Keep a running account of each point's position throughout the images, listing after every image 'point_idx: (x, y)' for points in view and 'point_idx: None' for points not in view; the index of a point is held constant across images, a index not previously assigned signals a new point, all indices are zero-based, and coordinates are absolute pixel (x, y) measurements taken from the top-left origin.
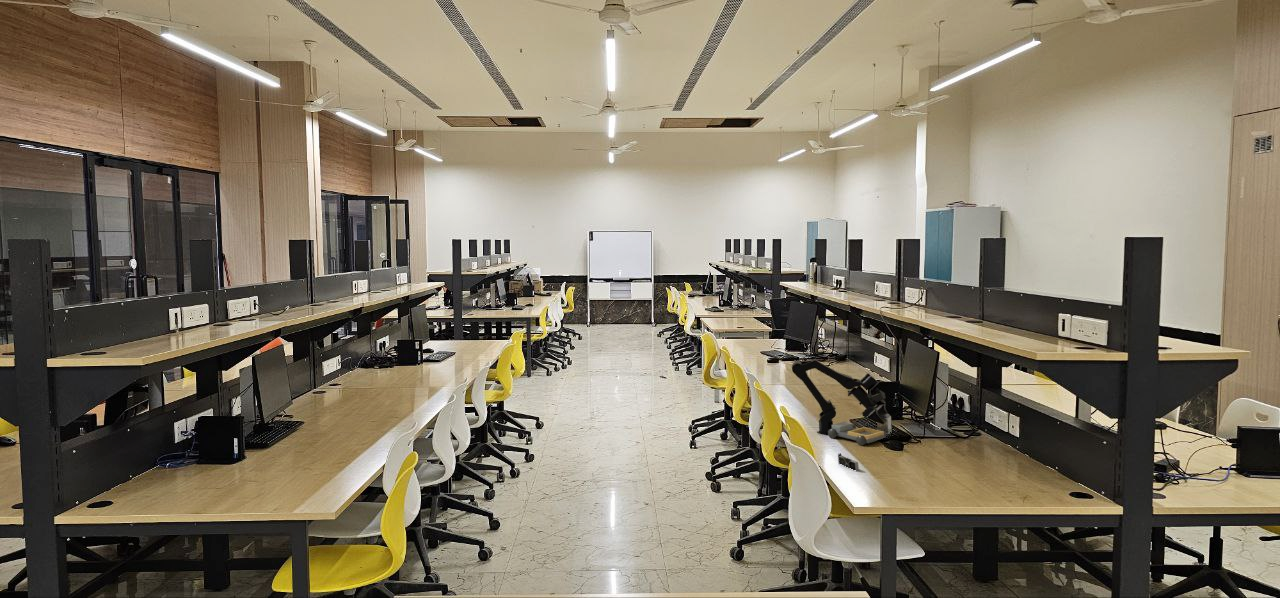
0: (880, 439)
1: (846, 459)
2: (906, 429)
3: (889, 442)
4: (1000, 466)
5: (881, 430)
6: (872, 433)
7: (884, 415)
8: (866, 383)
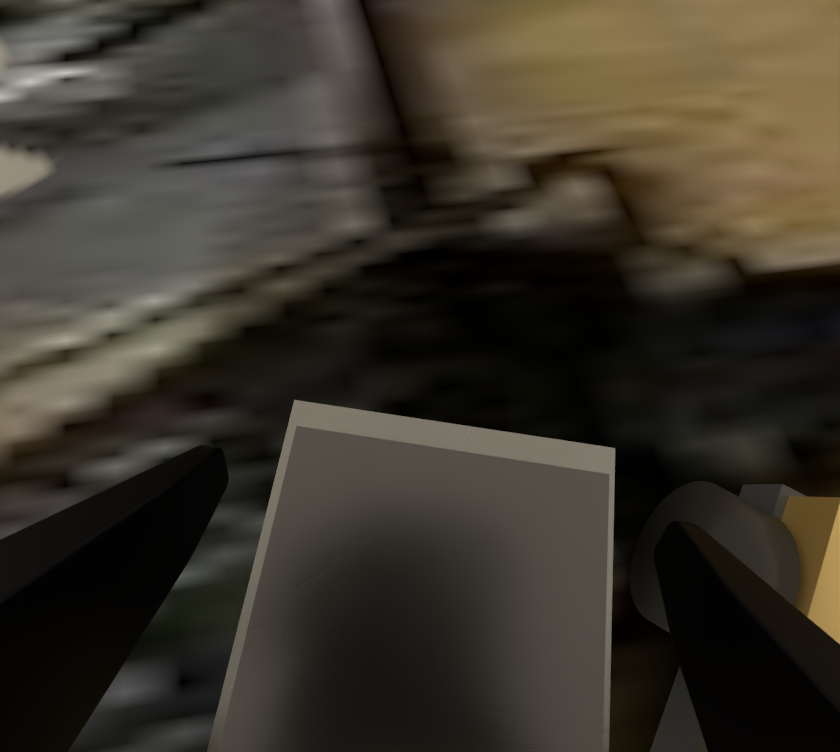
0: None
1: None
2: (120, 322)
3: (745, 423)
4: None
5: (761, 556)
6: None
7: (563, 577)
8: None
